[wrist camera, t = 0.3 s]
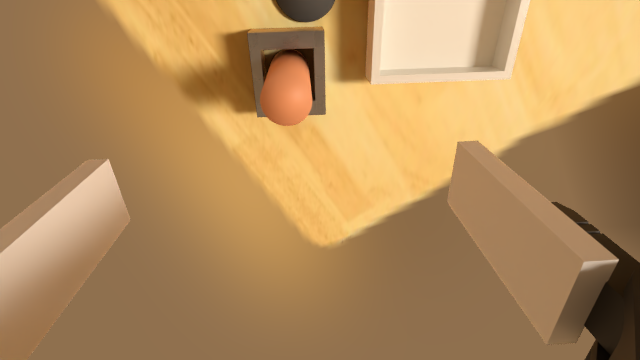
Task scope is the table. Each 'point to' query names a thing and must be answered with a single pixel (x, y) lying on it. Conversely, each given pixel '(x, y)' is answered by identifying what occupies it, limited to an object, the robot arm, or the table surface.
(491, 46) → the dock cradle
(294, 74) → the pin
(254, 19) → the table surface
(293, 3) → the pin pad
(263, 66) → the pin mount
